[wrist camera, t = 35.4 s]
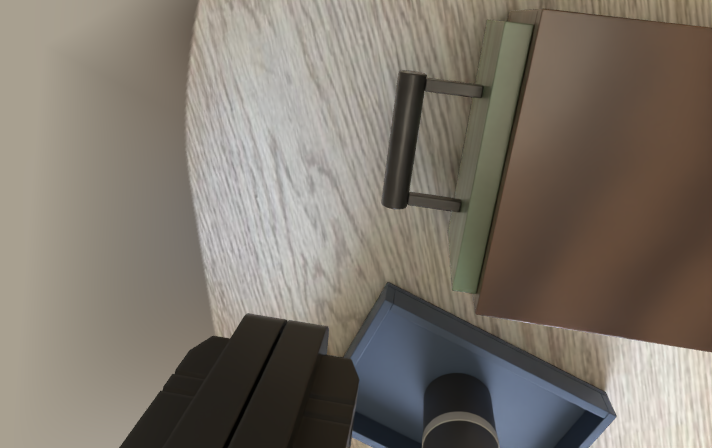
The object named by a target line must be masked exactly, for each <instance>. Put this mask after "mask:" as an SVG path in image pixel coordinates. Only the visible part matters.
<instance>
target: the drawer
mask: <svg viewBox="0 0 712 448" xmlns="http://www.w3.org/2000/svg"><path fill="white" fill-rule="evenodd" d="M533 29H534V25H533V24H526V23H517V22H508V21H497V20H487V23H486V28H485V34H484V39H483V45H482V50H481V56H480V61H479V66H478V72H477V77H476V83H475V84H472V83H464V82H456V81H448V80H440V79H433V78H427V74H425V73H422V72H416V71H407V70H401V71H399V73H398V81H397V88H396V96H395V103H394V111H393V118H392V126H391V134H390V141H389V149H388V156H387V164H386V171H385V179H384V186H383V194H382V201H381V203H382V205H383V206H385V207H387V208H391V209H404V208H406V207H407V204H408V205H412V206H418V207H425V208H432V209H439V210H446V211H452V212H451V218H450V223H449V228H448V239H449V253H450V267H451V281H452V290H453V291H460V292H466V293H472V294H476V292H477V288H478V283H479V279H480V274H481V269H482V265H483V260H484V255H485V251H486V246H487V242H488V237H489V232H490V228H491V223H492V218H493V214H494V209H495V204H496V200H497V195H498V191H499V186H500V181H501V177H502V172H503V167H504V163H505V158H506V154H507V149H508V144H509V140H510V135H511V130H512V126H513V121H514V117H515V112H516V107H517V103H518V98H519V93H520V89H521V84H522V80H523V75H524V70H525V66H526V61H527V56H528V52H529V47H530V42H531V38H532V33H533ZM426 78H427V79H426ZM424 91H427V92H435V93H443V94H450V95H458V96H466V97H473V99H472V104H471V110H470V115H469V120H468V126H467V131H466V137H465V142H464V147H463V153H462V158H461V164H460V169H459V174H458V180H457V185H456V191H455V196H454V198H450V197H443V196H436V195H429V194H422V193H415V192H409V190H410V183H411V177H412V170H413V164H414V157H415V150H416V144H417V137H418V131H419V124H420V117H421V111H422V104H423V98H424Z"/></svg>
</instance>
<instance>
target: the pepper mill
mask: <svg viewBox="0 0 712 448" xmlns="http://www.w3.org/2000/svg"><path fill="white" fill-rule="evenodd" d="M422 448H500V447H499V440H498V436H497V433H496V426H495V420H494V413H493V407H492V400H491V395H490V392H489V390H488V389H487V387H486V386H485V385H484V384H483V383H482V382H481V381H480V380H478V379H477V378H475V377H473V376H471V375H467V374H463V373H450V374H445V375H442V376H440V377H438V378H436V379H435V380H433V381H432V382H431V383H430V384H429V386H428V387H427V389H426V391H425V394H424V412H423V436H422Z"/></svg>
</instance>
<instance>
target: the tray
mask: <svg viewBox="0 0 712 448" xmlns="http://www.w3.org/2000/svg"><path fill="white" fill-rule="evenodd" d="M343 358H348V359H352V362H353V364H354V367H355V369H356V372H357V375H358V377H359V387H358V394H357V402H356V409H355V417H354V424H353V431H352V437H353V438H355V439H357V440H359V441H361V442H363V443H365V444H367V445H369V446H371V447H373V448H422V436H423V412H424V394H425V391H426V389H427V387H428V386H429V384H430V383H431V382H432V381H433V380H435V379H436V378H438V377H440V376H442V375H445V374H450V373H463V374H467V375H471V376H473V377H475V378H477V379H478V380H480V381H481V382H482V383H483V384H484V385H485V386H486V387H487V389H488V390H489V392H490V395H491V400H492V407H493V413H494V420H495V426H496V433H497V436H498V440H499V447H500V448H589V447H590V446H591V445H592V443H593V442H594V441H595V440H596V439H597V438H598V437H599V436H600V435H601V434H602V432H603V431H604V430H605V429H606V428H607V427H608V426H609V425H610V424H611V422H612V421H613V420H614V419H615V418H616V417H617V416H616V414H615V412H614V409H613V407H612V405H611V403H610V401H609V398H608V396H607V394H606V392H604V391H602V390H600V389H598V388H596V387H594V386H592V385H590V384H588V383H586V382H584V381H582V380H580V379H578V378H576V377H574V376H572V375H570V374H568V373H566V372H564V371H562V370H560V369H558V368H557V367H555V366H553V365H551V364H549V363H547V362H545V361H543V360H541V359H539V358H537V357H535V356H533V355H531V354H529V353H527V352H525V351H523V350H521V349H519V348H517V347H515V346H513V345H511V344H509V343H507V342H505V341H503V340H501V339H499V338H497V337H495V336H493V335H491V334H489V333H487V332H485V331H483V330H481V329H479V328H477V327H476V326H474V325H472V324H470V323H468V322H466V321H464V320H462V319H460V318H458V317H456V316H454V315H452V314H450V313H448V312H446V311H444V310H442V309H440V308H438V307H436V306H434V305H432V304H430V303H428V302H426V301H424V300H422V299H420V298H418V297H416V296H414V295H412V294H410V293H408V292H406V291H404V290H402V289H400V288H398V287H397V286H395V285H393V284H391V283H389V282H388V283H387V284H386V286H385V288H384V289H383V291H382V293H381V295H380V296H379V298H378V300H377V301H376V303H375V305H374V306H373V308H372V310H371V311H370V313H369V315H368V316H367V318H366V320H365V322H364V323H363V325H362V327H361V328H360V330H359V332H358V333H357V335H356V337H355V338H354V340H353V342H352V343H351V345H350V347H349V349H348V350H347V352H346V354H345V355H344V357H343Z"/></svg>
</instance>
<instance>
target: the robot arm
mask: <svg viewBox="0 0 712 448" xmlns="http://www.w3.org/2000/svg"><path fill="white" fill-rule="evenodd" d="M328 336H329V328H328V326H322V325H316V324H310V323H304V322H298V321H292V320H289V321H288V322H287V320H285V319H279V318H273V317H267V316H261V315H255V314H249V313H248V314H246V315H245V316H244V318H243V319H242V321H241V322H240V324H239V326H238V327H237V329H236V330H235V332H234V334H233V335H232V337H231V338H230V339H229V338H223V337H218V336H212V337H210V338H209V339H207V340H205V341H204V342H202V343H201V344H199V345H198V346H196V347H194V348H193V349H191V350H190V351H189V352H188V353H187V355H186V356H185V358H184V359H183V360H182V362H181V363H180V364H179V366H178V367H177V369H176V371H175V374H172V376H171V377H170V378H169V380H168V381H167V383H166V384H165V385H164V387H163V391H160V392H159V394H158V395H157V396H156V398H155V399H154V401H153V402H152V403H151V405H150V406H149V407H148V409H147V410H146V411H145V413H144V414H143V416H142V417H141V418H140V420H139V421H138V422H137V424H136V425H135V427H134V428H133V430H132V431H131V432H130V434H129V435H128V436H127V438H126V439H125V441H124V442H123V443H122V445H121V446H120V447H119V448H350V446H351V439H352V431H353V424H354V417H355V409H356V402H357V394H358V387H359V377H358V375H357V372H356V369H355V367H354V364H353V362H352V359H348V358H342V357H336V356H330V355H327V346H328Z"/></svg>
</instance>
